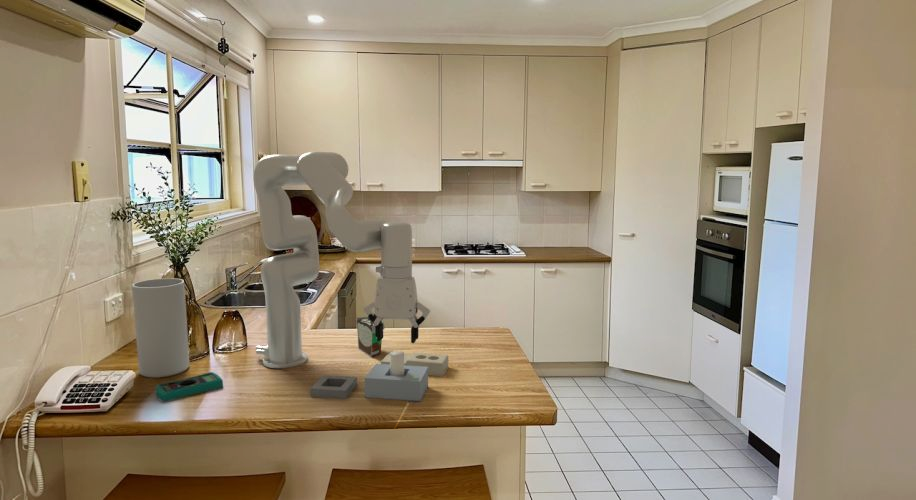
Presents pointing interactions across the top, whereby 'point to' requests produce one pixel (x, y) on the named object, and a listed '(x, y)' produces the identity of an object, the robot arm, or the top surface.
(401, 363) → the plug
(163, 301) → the cylinder vase
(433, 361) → the electrical outlet
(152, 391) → the top surface
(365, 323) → the food container
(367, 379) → the port block
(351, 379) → the grey square socket base
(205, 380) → the digital multimeter
